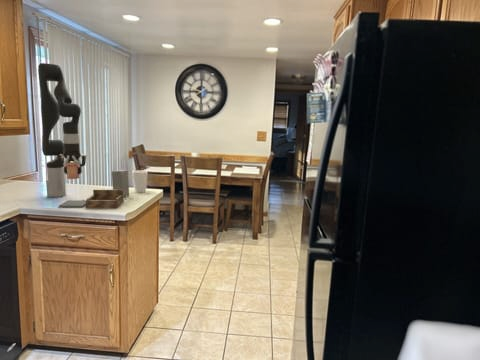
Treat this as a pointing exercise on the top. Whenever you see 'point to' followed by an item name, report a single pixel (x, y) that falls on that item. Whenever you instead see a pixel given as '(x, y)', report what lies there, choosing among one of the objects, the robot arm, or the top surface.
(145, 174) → the foam cup
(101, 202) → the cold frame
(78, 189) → the top surface
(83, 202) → the slate mat
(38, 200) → the top surface
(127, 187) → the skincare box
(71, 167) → the flowerpot
